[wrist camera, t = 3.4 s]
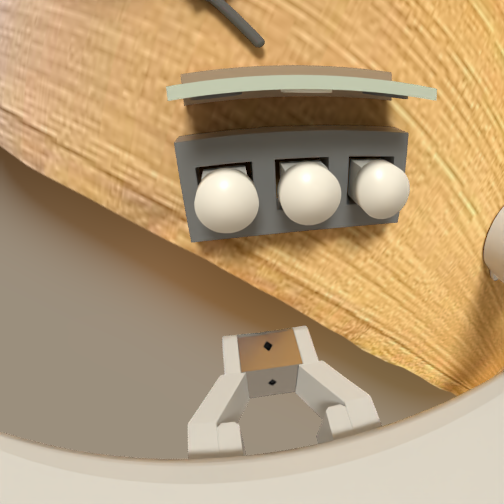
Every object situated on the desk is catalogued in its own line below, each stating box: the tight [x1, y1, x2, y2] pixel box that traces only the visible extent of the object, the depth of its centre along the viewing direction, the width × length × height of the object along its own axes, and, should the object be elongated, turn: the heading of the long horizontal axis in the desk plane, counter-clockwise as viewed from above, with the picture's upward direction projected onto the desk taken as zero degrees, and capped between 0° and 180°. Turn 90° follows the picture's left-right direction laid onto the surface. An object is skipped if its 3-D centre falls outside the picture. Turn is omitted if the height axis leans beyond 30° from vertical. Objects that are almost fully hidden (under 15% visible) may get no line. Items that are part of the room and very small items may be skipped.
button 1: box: [194, 165, 259, 233], centre depth 26 cm, size 5×5×4 cm
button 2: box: [348, 159, 410, 219], centre depth 26 cm, size 5×5×4 cm
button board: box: [174, 125, 408, 242], centre depth 28 cm, size 22×10×3 cm, turn 94°
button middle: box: [277, 160, 341, 225], centre depth 26 cm, size 5×5×4 cm
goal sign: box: [166, 65, 437, 106], centre depth 21 cm, size 20×3×8 cm, turn 94°
